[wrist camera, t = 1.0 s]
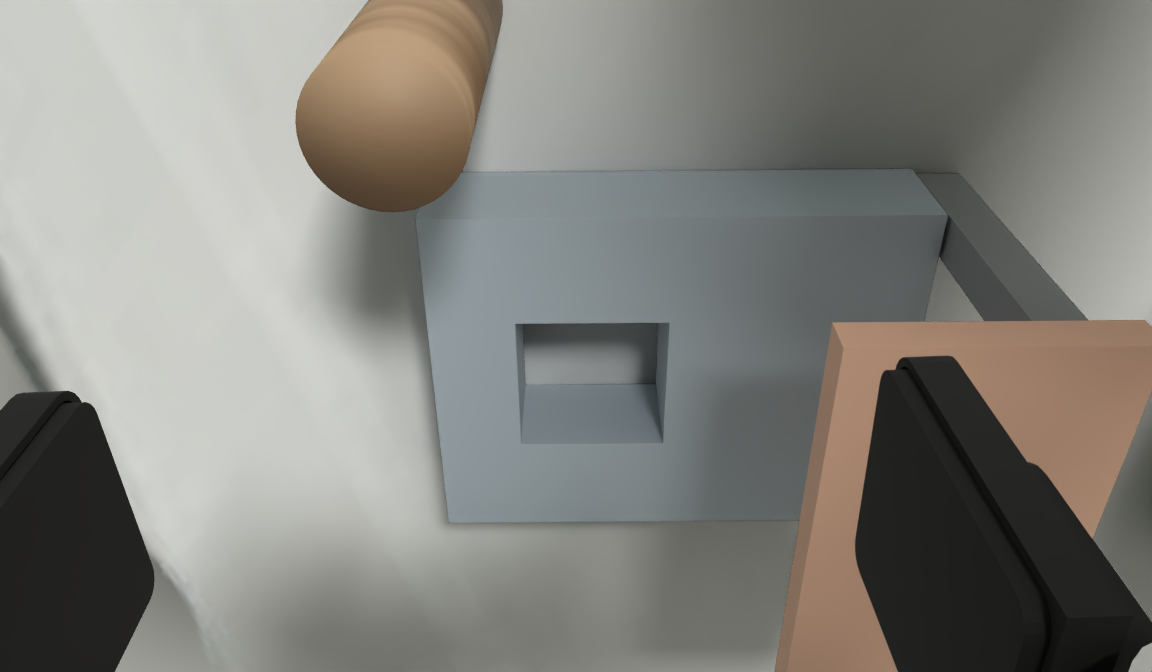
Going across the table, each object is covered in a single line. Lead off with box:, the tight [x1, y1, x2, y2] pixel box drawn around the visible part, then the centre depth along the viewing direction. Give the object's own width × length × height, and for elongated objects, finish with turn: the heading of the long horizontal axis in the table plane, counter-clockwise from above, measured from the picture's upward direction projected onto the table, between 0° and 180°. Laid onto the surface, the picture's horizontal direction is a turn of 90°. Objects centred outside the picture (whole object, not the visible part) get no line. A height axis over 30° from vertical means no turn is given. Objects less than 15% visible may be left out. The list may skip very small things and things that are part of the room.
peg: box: [296, 0, 503, 212], centre depth 27 cm, size 4×4×12 cm
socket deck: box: [415, 169, 1152, 672], centre depth 33 cm, size 16×20×14 cm
